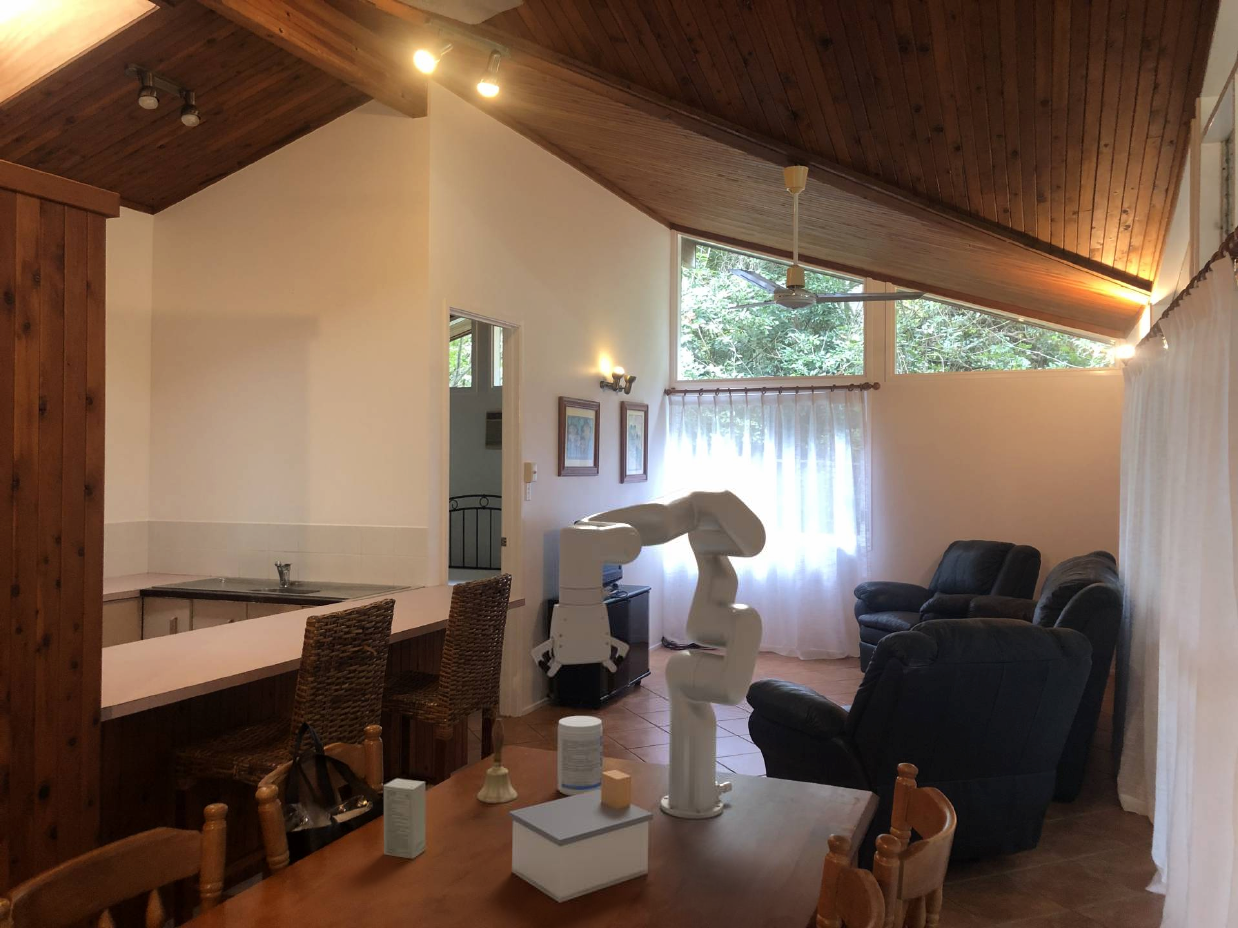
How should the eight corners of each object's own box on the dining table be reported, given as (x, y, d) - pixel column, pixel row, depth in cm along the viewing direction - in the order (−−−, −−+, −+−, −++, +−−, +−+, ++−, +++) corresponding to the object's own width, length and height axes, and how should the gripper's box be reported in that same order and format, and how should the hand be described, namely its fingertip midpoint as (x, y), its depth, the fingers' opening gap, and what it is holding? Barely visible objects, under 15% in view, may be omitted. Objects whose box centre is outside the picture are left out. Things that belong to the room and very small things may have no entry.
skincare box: (426, 850, 162) (427, 781, 163) (412, 860, 158) (414, 789, 158) (395, 845, 165) (396, 776, 165) (381, 854, 160) (382, 784, 161)
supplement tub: (610, 792, 194) (611, 722, 194) (571, 801, 188) (572, 729, 189) (586, 779, 202) (587, 712, 202) (548, 787, 197) (549, 718, 197)
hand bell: (470, 794, 191) (471, 717, 192) (504, 787, 196) (506, 712, 197) (489, 806, 185) (490, 726, 185) (524, 798, 190) (526, 720, 190)
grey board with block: (598, 801, 166) (599, 761, 166) (652, 826, 155) (653, 783, 155) (508, 824, 154) (509, 781, 155) (559, 854, 143) (560, 807, 143)
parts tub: (597, 846, 165) (598, 795, 166) (647, 873, 154) (648, 819, 155) (511, 871, 154) (512, 817, 154) (559, 902, 143) (560, 844, 143)
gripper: (621, 592, 165) (621, 687, 165) (527, 596, 160) (526, 694, 160) (635, 597, 158) (634, 697, 158) (536, 602, 153) (536, 704, 153)
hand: (580, 695), depth 159 cm, fingers open, 9 cm apart
